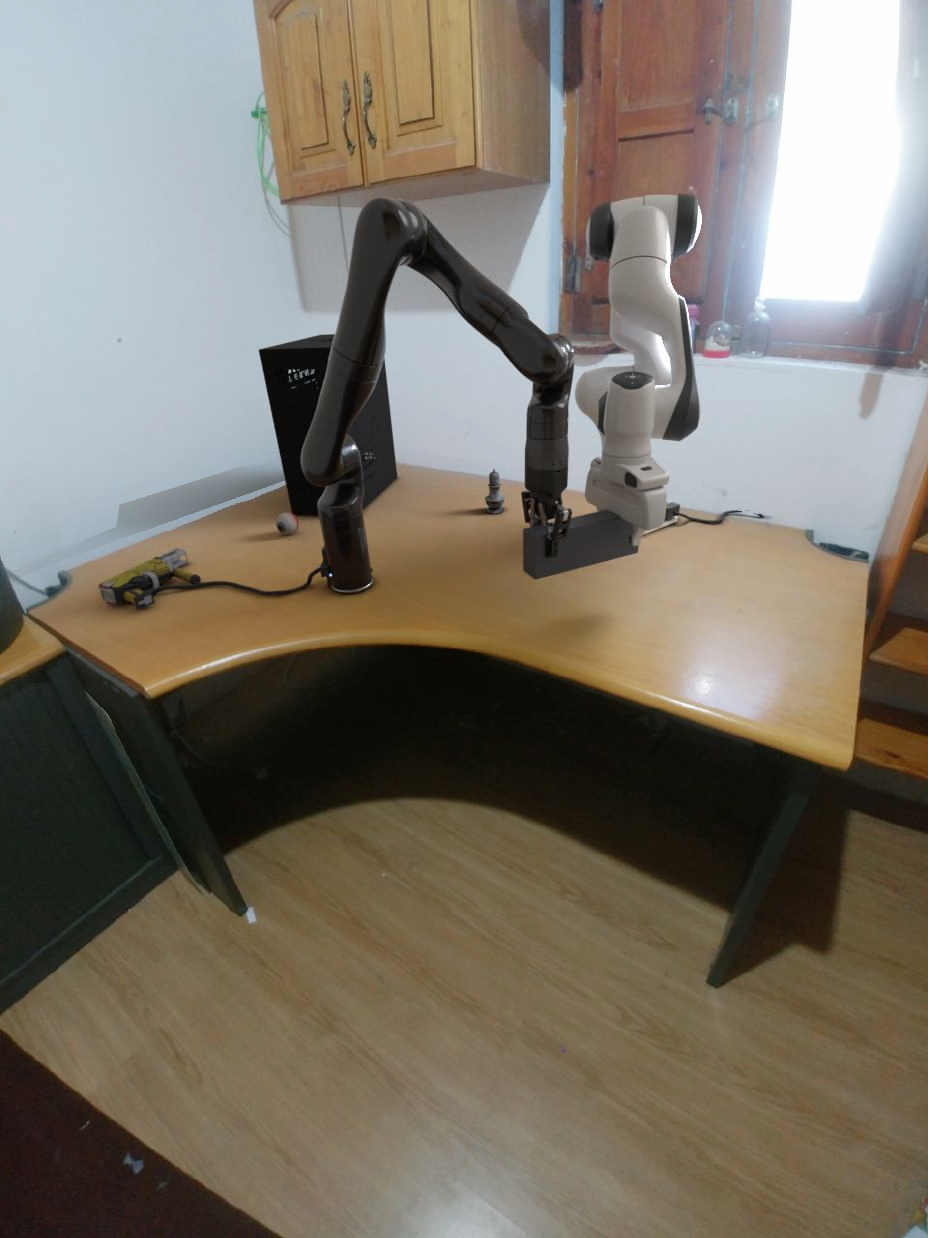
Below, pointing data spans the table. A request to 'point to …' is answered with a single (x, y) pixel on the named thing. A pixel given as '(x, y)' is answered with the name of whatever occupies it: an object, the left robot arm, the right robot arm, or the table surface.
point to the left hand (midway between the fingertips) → (544, 551)
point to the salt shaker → (494, 494)
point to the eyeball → (287, 523)
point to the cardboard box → (298, 411)
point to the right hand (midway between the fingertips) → (619, 536)
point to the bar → (578, 544)
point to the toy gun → (146, 580)
